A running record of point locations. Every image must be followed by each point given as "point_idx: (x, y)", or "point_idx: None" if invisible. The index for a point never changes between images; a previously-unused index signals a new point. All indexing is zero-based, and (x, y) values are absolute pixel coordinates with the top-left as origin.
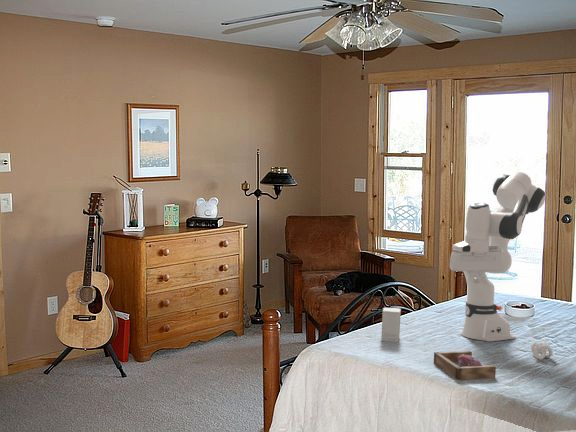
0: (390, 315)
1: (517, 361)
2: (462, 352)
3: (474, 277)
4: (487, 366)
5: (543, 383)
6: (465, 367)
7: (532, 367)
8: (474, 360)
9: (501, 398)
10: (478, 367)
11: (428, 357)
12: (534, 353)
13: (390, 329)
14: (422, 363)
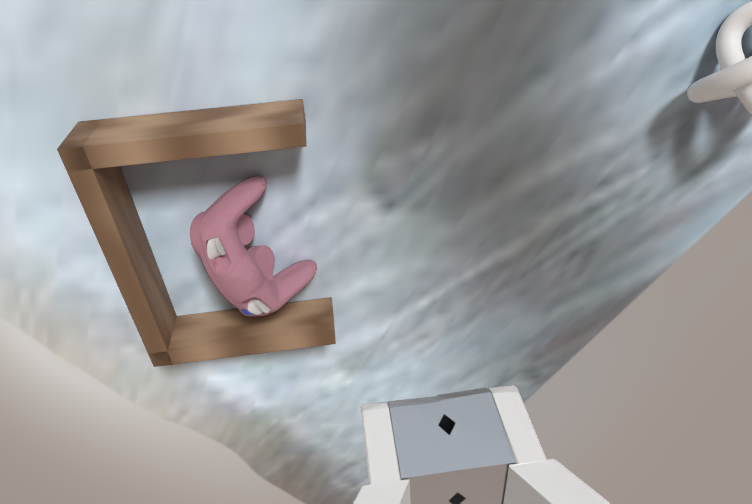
0: None
1: (564, 112)
2: (244, 152)
3: (463, 474)
4: (298, 343)
5: (483, 353)
6: (193, 355)
7: (570, 200)
8: (254, 314)
9: (273, 450)
10: (253, 353)
11: (50, 9)
12: (692, 98)
13: None
14: (7, 127)
